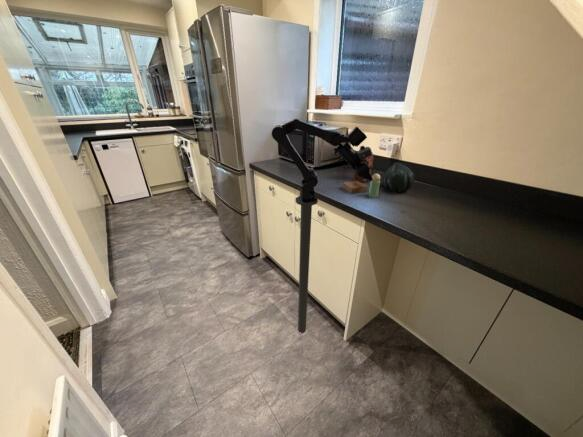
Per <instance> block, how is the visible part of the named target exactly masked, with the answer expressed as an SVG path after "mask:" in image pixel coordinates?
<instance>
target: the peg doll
mask: <svg viewBox="0 0 583 437" xmlns="http://www.w3.org/2000/svg"><path fill="white" fill-rule="evenodd" d="M371 177H372V179H373V180H372V181H369V182H370V183H369V189H368V194H367V196H368V197H369V198H373V199H374V198H378V195H379V190H380V184H381V175H380V174H379V173H373V174H371Z"/></svg>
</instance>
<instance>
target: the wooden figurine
mask: <svg viewBox="0 0 583 437" xmlns="http://www.w3.org/2000/svg"><path fill="white" fill-rule="evenodd" d="M374 158H375V157H374V154H373V155H372V156H369V157H366V158H364V161H362V163H363V162H366V163H367V164H368V165H369V166H370V167H371V168H370V170H369V172H370V175H371V176H372V170H373V168H374ZM353 172H354V173H353V181H358V182H360V183H365V182H369V180H367V179H365V178H362V177H359V176H358V175H357V174H356V173H355V170H354V171H353Z"/></svg>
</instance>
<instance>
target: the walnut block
mask: <svg viewBox="0 0 583 437" xmlns="http://www.w3.org/2000/svg"><path fill="white" fill-rule="evenodd" d="M341 186H342V189H343V190H345V191H346V192H348V193H349V194H351V195H352V194H361V193H366V192H367V188H368V186H367V185H366V184H363V182H358V181H354V180H353V181H346V182H345V181H344V182H342V185H341Z"/></svg>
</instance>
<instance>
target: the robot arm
mask: <svg viewBox="0 0 583 437" xmlns="http://www.w3.org/2000/svg"><path fill="white" fill-rule="evenodd" d="M296 130H298V131H301V132H302V133H306V134H307V135H310V136H311V135H312V136H314V137H317V138H320V139H321V140H323V141H325V142H326V143H328V144H329V145H331V146H333V148H332V149H333V150H332V153H333V155H337V154H339V155H340V156H341V157H342V158H343V159H344V160H345V162H346V163H347V164H348V166H350V168H351V169H353V170H354V171H355V173H356V174H357V175H358V176H359V177H362V178H365V179H367V180H368V181H369V182H371V181H372V180H373V179H372V174H371V175H370V172H369V170H370V168H371V167H370V166H369V165H368V164H367V163H366V162H363V163H362V161H364V158H366V157H369V156H372V155H374V154H373V151H372V148H371V147H370V146H365V145H361V144H362V143H363V142H364V141H365V140H367V139H368V137H367V135H366V134H365V132H363V131H362V130H361V129H360V128H359V127H358V126H355V127H354V128H353V129H352V130H351V131H350V132H349V133H348V134H342V133H340V132H338V131H337V130H332V129H325V128H321V127H319V126H316V125H314V124H311V123H308V122H305V121H303V120H301V119H299V118H293V119H292V120H291V121H288V122H285V123H284V124H282V125H280V124H278V125H275V126H274V127H273V128H272V130H271V137H272V139H273V140H274V141H275V142H276V143H277V144H278V145H280V146H281V148H283V149H284V150H285V152H286V153H287V155H288V156H289V158H290V159H291V160H292V162H293V163H294V164H295V165H296V168H297V169H298V170H299V172H300V174H301V176H302V178H303V179H302V180H301V181H300V186H301V187H299V196H300V197H298V196H297V197H298V199H300V200H301V201H302V202H303V203H306V202H311V201H315V199H313V198H314V197H315V187H317V185H318V183H319V179H318V178H319V177H318V174H317V172H316V171H315V170H314V168H313V167H314V166H311V167H309V166H307V164H306V162H305V161H304V160H303V158H302V156H301V155H300V154H299V152H298V151H297V149H296V147H295V146H294V145H293V143H292V142H291V139H290V138H289V136H288V135H289V134H291V133H292V132H294V131H296ZM360 145H361V146H360ZM358 146H359V150H357V151H356V150H355V149H354V147H358Z"/></svg>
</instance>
